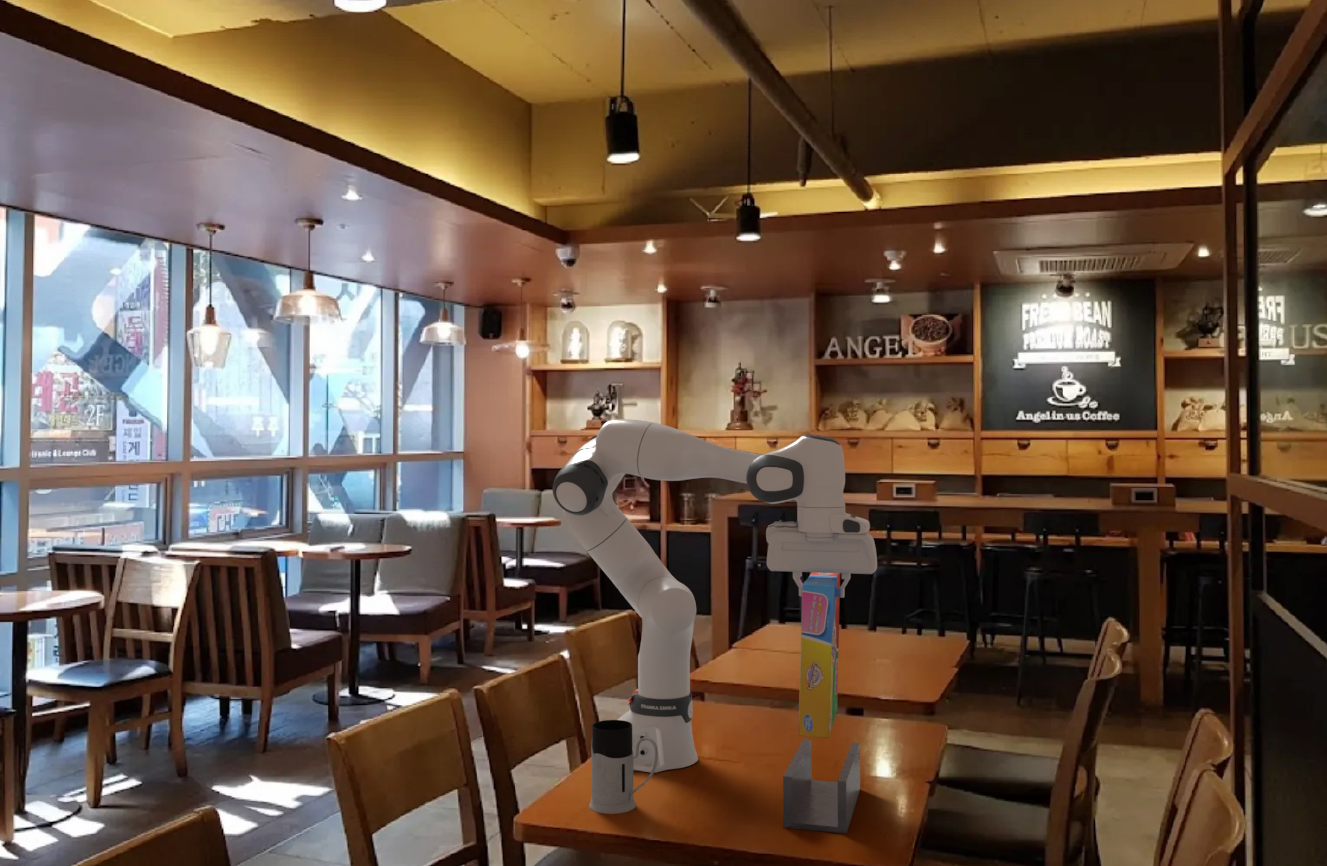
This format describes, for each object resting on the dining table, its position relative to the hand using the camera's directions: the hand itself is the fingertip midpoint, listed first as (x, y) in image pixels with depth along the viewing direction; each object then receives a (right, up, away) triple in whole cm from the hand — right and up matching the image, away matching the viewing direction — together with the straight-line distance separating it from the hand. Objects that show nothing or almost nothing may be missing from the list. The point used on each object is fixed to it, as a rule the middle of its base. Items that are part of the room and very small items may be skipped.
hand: (821, 596), depth 195 cm
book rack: (0, -39, 0) cm, 39 cm away
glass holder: (-37, -39, 0) cm, 54 cm away
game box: (-1, -24, 0) cm, 24 cm away
